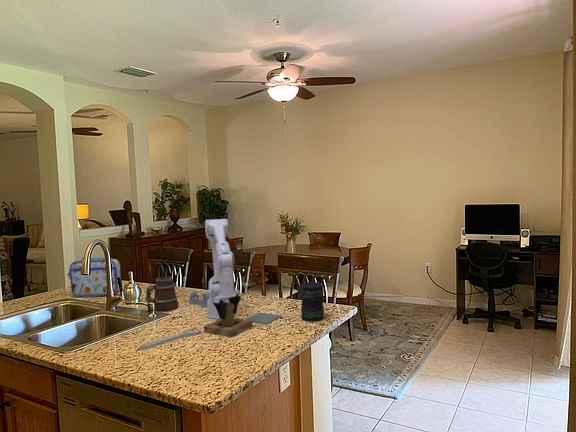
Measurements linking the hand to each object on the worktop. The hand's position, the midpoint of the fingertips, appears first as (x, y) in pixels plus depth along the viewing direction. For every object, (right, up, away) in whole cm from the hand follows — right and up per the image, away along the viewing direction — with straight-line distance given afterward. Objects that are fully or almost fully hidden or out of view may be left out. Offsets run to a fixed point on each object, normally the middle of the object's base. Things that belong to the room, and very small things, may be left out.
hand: (228, 316), depth 175 cm
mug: (-37, -5, +34) cm, 51 cm away
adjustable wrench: (-21, -8, -9) cm, 24 cm away
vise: (-20, -4, +44) cm, 48 cm away
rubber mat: (+13, -4, +14) cm, 20 cm away
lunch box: (-84, -4, +68) cm, 109 cm away
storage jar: (+35, -4, +12) cm, 37 cm away
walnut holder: (0, -6, 0) cm, 6 cm away
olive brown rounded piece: (0, -6, 0) cm, 6 cm away
